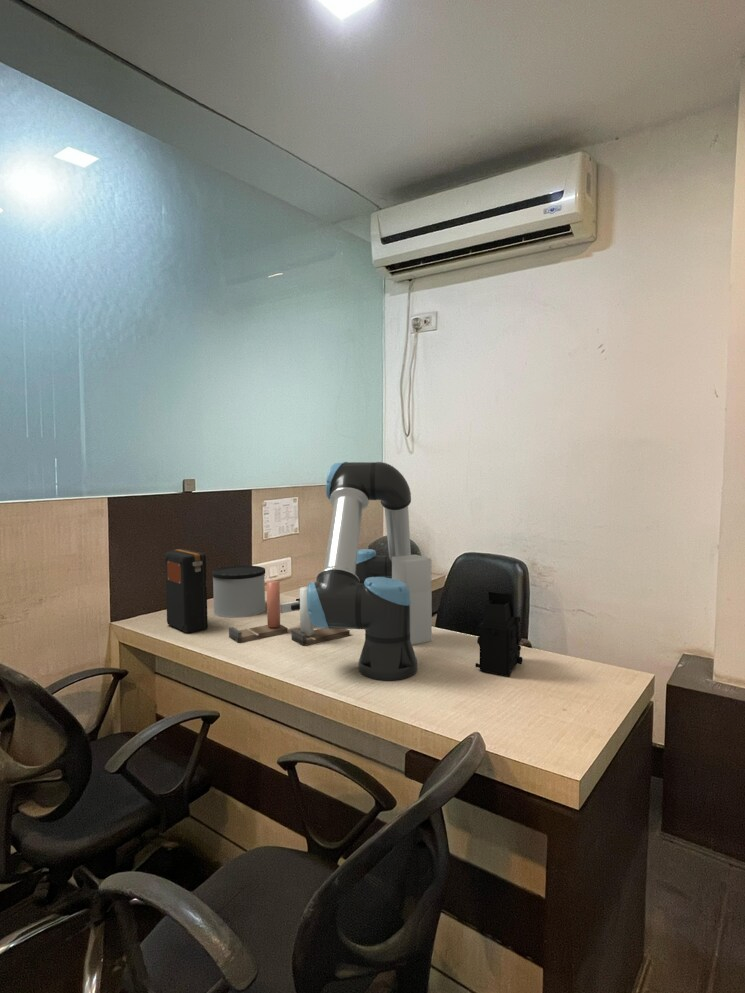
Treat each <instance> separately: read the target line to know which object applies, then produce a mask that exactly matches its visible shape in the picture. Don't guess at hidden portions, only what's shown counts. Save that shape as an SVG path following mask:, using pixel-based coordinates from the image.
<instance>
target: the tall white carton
mask: <svg viewBox="0 0 745 993" xmlns="http://www.w3.org/2000/svg"><path fill="white" fill-rule="evenodd" d="M391 578H392V579H396V580H399V581H402V582H404V583H405V584H406V585H407V586H408V587H409V590H410V600H411V605H410V640H411V643H412V646H413V645H419V644H425V643H430V642H432V640H433V639H432V638H433V630H432V628H433V627H432V626H433V624H432V623H433V621H432V619H433V618H432V616H433V615H432V608H433V607H432V605H433V603H432V600H433V599H432V594H433V591H432V558H430V557H427V556H423V555H418V554H416V553H415V554H411V555H405V556H395V557H392V577H391Z"/></svg>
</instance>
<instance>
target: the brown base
mask: <svg viewBox="0 0 745 993" xmlns="http://www.w3.org/2000/svg"><path fill="white" fill-rule="evenodd" d="M288 630H289V629H288V627H286V626H284V625H283V624H281V623H280V626H279V627H268V624H266V625H260V626H256V627H250V628H248V627H245V628H244V629H237V628H236V627H234V626H230V627H228V638H230V639H231V640H232V641H235V643H237V644H239V643H244V642H248V641H253V640H259V639H264V638H269V637H272V636H274V637H275V636H278V635H283V634H288Z"/></svg>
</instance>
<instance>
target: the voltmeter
mask: <svg viewBox="0 0 745 993" xmlns="http://www.w3.org/2000/svg"><path fill="white" fill-rule="evenodd" d="M164 567H165V569H164V572H165V595H166V596H165V598H166V600H165V602H166V605H165V606H166V623H167V625H169V626H171V627H174V628H176V629H178V630H180V631H182V632H185V633H187V634H189V633H194V632H197V631H202V630H204V631H206V630H207V629H208V627H209V626H208V621H209V619H208V591H207V590H208V589H207V555H206V554H205V553H204V552H199V551H194V550H192V549H191V550H190V549H185V548H181V549H180V548H178V549H173V550H172V551H166V552H165V554H164Z"/></svg>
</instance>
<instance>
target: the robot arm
mask: <svg viewBox="0 0 745 993" xmlns="http://www.w3.org/2000/svg"><path fill="white" fill-rule="evenodd" d="M325 482H326V483H325V493H326V498H327V500H329V501H330V504H331V505H332V506H333V509H332V516H331V522H330V528H329V535H328V541H327V545H326V547H327V549H326V553H325V554H326V555H325V561H324V567H323V570H321V571H320V572H319V573H318V574H317V575H316V580H315V581H312V582H309V583H308V585H307V587H308V588H307V607H308V614H309V619H310V621H311V623H312V625H313V626H314V628H318V629H322V628H327V629H347V630H363V631H364V633H365V634H364V636H365V638H364V639H365V640H364V642H363V646H362V649H361V653H360V656H359V659H358V672H359V673H360V675H363V676H364V677H367V678H370V679H372V680H379V681H396V680H404V679H406V678H410V677H412V676H413V675H415V674H417V672H418V659H417V656H416V653H415V650H414V647H413V645H412V643H411V640H410V605H411V600H410V590H409V587H408V586H407V585H406V584H405V583H404V582H402V581H399V580H396V579H392V557H395V556H405V555H412V552H411V551H412V550H411V534H410V533H411V532H410V519H409V518H410V516H409V506H410V505H411V502H412V493H411V489H410V486H409V483H408V481H407V480H406V478H405V477H404V475H403V473H401V472H400V471H399V470H398V469H397V468H395V467H394V466H393V465H391V464H389V463H386V462H382V461H376V462H375V461H374V462H371V461H370V462H366V461H365V462H362V461H361V462H358V461H356V462H354V461H353V462H348V461H344V462H337V463H335V462H334V463H333V464H331V466H330V468H329V469H328V472H327V475H326V481H325ZM369 501H380V504H381V506H382V508H384V516H385V526H386V527H385V528H386V537H387V548H388V555H384V554H383V555H379V554H377V552H376V550H375V549H370V548H363V549H362V548H361V549H359V545H360V544H359V542H360V534H361V526H362V518H363V516H362V515H363V511H364V510H365V509H366V508H367V507H368V505H369ZM295 611H298V612H300V597H299V598H296V599H295V601H289V602H283V603H280V614H284V613H290V612H291V613H292V612H295Z"/></svg>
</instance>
